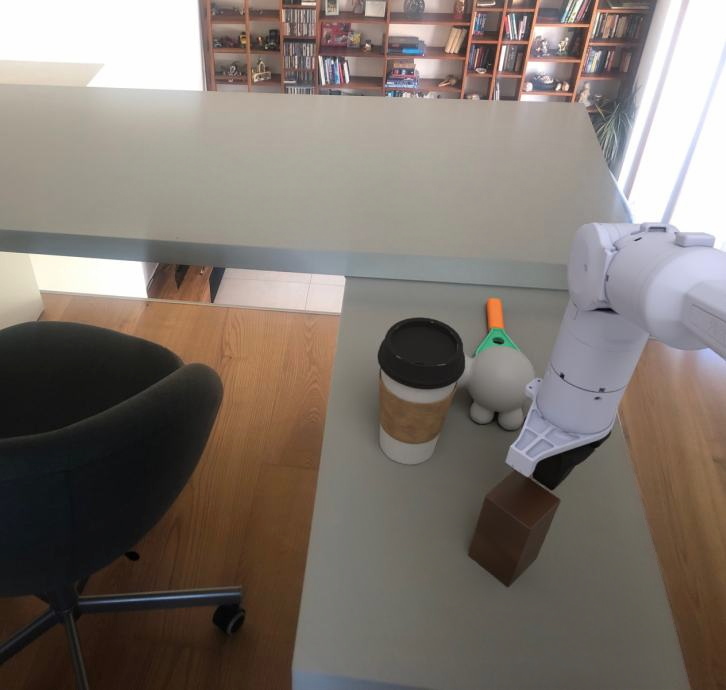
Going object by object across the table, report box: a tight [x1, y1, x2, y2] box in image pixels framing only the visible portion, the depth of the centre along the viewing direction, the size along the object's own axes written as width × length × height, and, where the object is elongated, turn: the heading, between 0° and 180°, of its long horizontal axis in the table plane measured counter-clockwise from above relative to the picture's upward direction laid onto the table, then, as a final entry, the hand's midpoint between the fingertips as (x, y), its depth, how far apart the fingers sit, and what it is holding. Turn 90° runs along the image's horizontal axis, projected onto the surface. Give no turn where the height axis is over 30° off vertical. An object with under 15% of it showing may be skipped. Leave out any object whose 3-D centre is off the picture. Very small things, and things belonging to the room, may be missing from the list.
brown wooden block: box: [467, 469, 562, 588], centre depth 62 cm, size 4×4×9 cm
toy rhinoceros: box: [456, 346, 536, 431], centre depth 77 cm, size 7×12×8 cm, turn 68°
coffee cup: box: [376, 316, 466, 466], centre depth 71 cm, size 8×8×15 cm
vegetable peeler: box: [474, 297, 524, 357], centre depth 87 cm, size 15×6×2 cm, turn 170°
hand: (546, 480), depth 61 cm, fingers closed
